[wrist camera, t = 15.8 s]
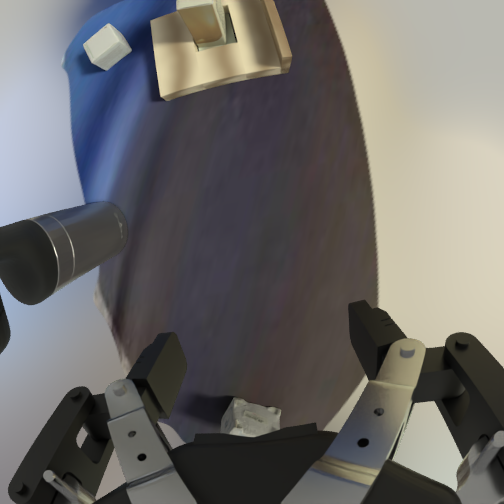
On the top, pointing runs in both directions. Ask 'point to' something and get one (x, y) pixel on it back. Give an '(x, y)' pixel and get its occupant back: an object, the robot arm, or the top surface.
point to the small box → (107, 47)
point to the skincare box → (204, 21)
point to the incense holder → (249, 419)
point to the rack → (220, 49)
